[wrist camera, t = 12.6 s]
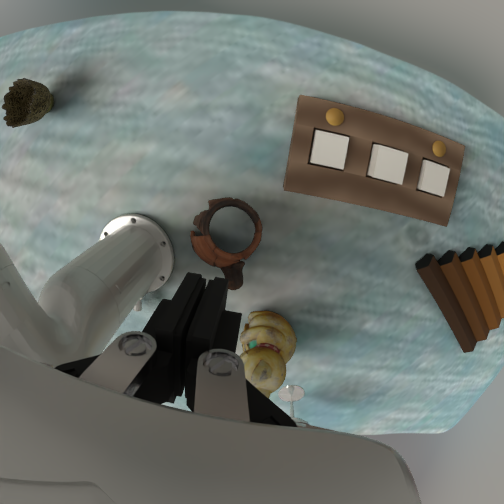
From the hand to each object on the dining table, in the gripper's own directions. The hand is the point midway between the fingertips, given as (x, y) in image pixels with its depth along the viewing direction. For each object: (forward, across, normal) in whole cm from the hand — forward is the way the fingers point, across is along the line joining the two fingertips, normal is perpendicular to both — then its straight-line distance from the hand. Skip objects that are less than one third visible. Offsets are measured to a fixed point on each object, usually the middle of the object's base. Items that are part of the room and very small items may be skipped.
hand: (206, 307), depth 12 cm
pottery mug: (+29, +2, +7) cm, 30 cm away
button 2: (+28, -8, -7) cm, 30 cm away
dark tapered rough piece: (+29, +35, -11) cm, 47 cm away
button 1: (+28, -23, -7) cm, 37 cm away
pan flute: (+30, -44, +4) cm, 53 cm away
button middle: (+27, -16, -7) cm, 32 cm away
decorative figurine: (+29, -6, +21) cm, 37 cm away
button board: (+29, -16, -7) cm, 34 cm away
